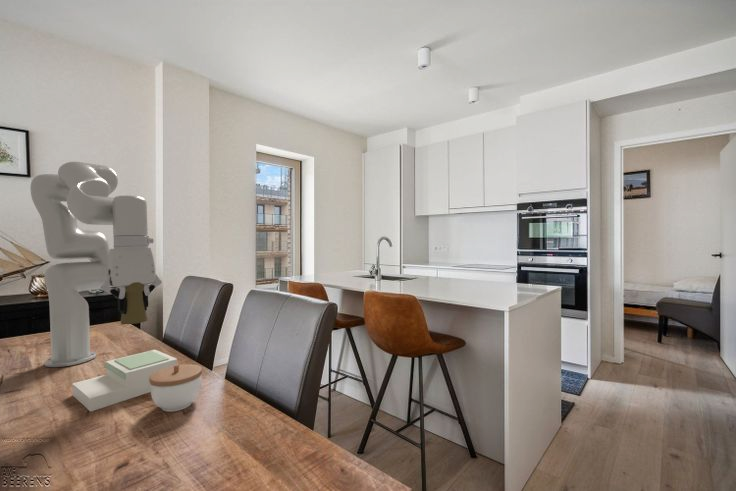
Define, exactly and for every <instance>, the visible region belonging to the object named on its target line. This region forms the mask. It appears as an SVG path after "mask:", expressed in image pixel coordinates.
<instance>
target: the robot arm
mask: <svg viewBox="0 0 736 491" xmlns="http://www.w3.org/2000/svg"><path fill="white" fill-rule="evenodd" d="M30 182H31V183H30V197H31V199H32V203H33V204H34V207H35V208H36V210H37V212H38V214H39V216H40V218H41V222H42V228H43V229H42V230H43V235H44V242H45V248H46V252H47V254H48V256H49V257H50V258H51V259H54V260H84V259H88V260H89V261H73V262H61V263H55V264H53V265H51V266H49V267H48V268H46V270H45V272H44V276H43V277H44V283H45V288H46V290H47V295H48V302H49V304H48V305H49V324H50V325H49V326H50V327H49V328H50V355H51V357H49V358H48V359H46V360H45V361H44V366H45V367H47V368H60V367H62V368H63V367H69V366H75V365H79V364H83V363H86V362H88V361H91V360H93V359H95V358H96V357H97V352H96V351H93V350H91V345H90V344H91V340H90V339H91V337H90V334H91V333H90V310H89V309H90V306H89V303H88V301H87V300H86V298H84V296H82V295H81V294H80V292H84V291H93V290H102V291H104V292H106V293H109V294H111V295H112V296H114V298H116V299H117V310H118V312H119V313H120V314H122V313H123V314H126V313H127V299H126V298H125V291H126V290H125V287H126V286H128V285H130V284H132V283H135V282H140V283H142V284H144V290H143V292H142V293H143V302H144V307H145V311H146V312H147V311H148V309H147V308H148V307H149V296H150V294H151V293H152V292H153V290H155V288H157V287H158V286H160V285H162V282H163V281H162V280H161V279H160V278H159V276H158V275H157V274H156V267H155V261H154V255H153V251H152V248H151V247H149V246H150V244H153V243H154V238H152V237H151V238H150V237H149V234H148V233H149V232H148V206H147V203H148V202H147V200H146V199H145V198H144V197H142V196H139V195H138V196H137V195H118V196H115V197H112V196H111V197H109V196H110V195H111V194H112V193H113V192H115V190H116V188H117V187H118V184H119V183H118V182H119V178H118V175H117V173H116V172H115V170H114V169H112V168H111V167H109V166H107V165H101V164H97V163H96V164H95V163H87V162H80V161H68V162H66V163H63V164H61V166H59V168H58V171H57V174H55V173H53V174H52V173H46V174H43V173H42V174H38V175H36V176H35V177H33V178H32V179H31V181H30ZM62 202H66V204H67V206H66V205H64V204H63V203H62ZM78 221H79V222H80V223H82V224H86V225H104V226H108V225H109V226H112V232H113V235H112V236H113V237H112V238H113V248H110V247H109V246H110V245H109V241H108V239H107V237H106V236H105V235H104V234H103V233H102V232H100V231H97V230H80V229H79V226H78ZM113 287H116V289H115V288H113Z"/></svg>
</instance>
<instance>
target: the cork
mask: <svg viewBox="0 0 736 491" xmlns="http://www.w3.org/2000/svg"><path fill="white" fill-rule="evenodd" d="M125 290H126V291H125V298H126V299H127V313H126V314H123V313H121V317H120V325H134V324H141V323H144V322H147V321H149V320H148V315H147V311H145V307H144V302H143V293H142V292H143V290H144V284H142V283H140V282H135V283H132V284H130V285H128V286H126V287H125Z"/></svg>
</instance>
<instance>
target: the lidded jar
mask: <svg viewBox="0 0 736 491" xmlns="http://www.w3.org/2000/svg"><path fill="white" fill-rule="evenodd" d="M202 374H203V368H202V366H200V365H198V364H187V363H186V364H178V365H174V366H171V367H167V368H164V369H161V370H158V371H156V372H154V373H153V374H152V375H151V376H150V377H149V382H150V391H151V392H150V395H151V399H152V401H153V402H154V404H155V405H156V406H157V407H158V408H160V409H161V410H162V411H163V412H168V413H169V412H170V413H171V412H178V411H183V410H184V409H187V408H189V407H190V406H191V405H192V403H193V402H194V401H195V399H197V397H198V395H199V393H200V392H201V391H200V390H201V387H202V380H203V379H202V377H203V375H202Z"/></svg>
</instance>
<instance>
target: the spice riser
mask: <svg viewBox="0 0 736 491" xmlns="http://www.w3.org/2000/svg"><path fill="white" fill-rule="evenodd" d="M174 365H179V364H178V358H176V357H174V356H171V355H169V354H167V353H164V352H162V351H159V350H157V349H151V350H148V351H144V352H140V353H134V354H131V355H126V356H122V357H119V358H115V359H110V360H106V361H105V362H104V368H105V374H103V375H100V376H96V377H95V376H94V377H93V378H88V379H85V380H80V381H77V382H73V383H71V384H72V396H73V397H74V399H76V400H77V401H78V402H79V403H81V404H82V405H83V406H84V407H85V408H86V409H87V410H88V411H89V412H94V411H96V410H100V409H103V408H106V407H109V406H112V405H116V404H118V403H121V402H124V401H127V400H128V401H129V400H131V399H133V398H136V397H139V396H143V395H146V394H148V393H151V391H150V382H149V377H150V376H151V375H152V374H153V373H154V372H156V371H158V370H161V369H164V368H167V367H171V366H174Z"/></svg>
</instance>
